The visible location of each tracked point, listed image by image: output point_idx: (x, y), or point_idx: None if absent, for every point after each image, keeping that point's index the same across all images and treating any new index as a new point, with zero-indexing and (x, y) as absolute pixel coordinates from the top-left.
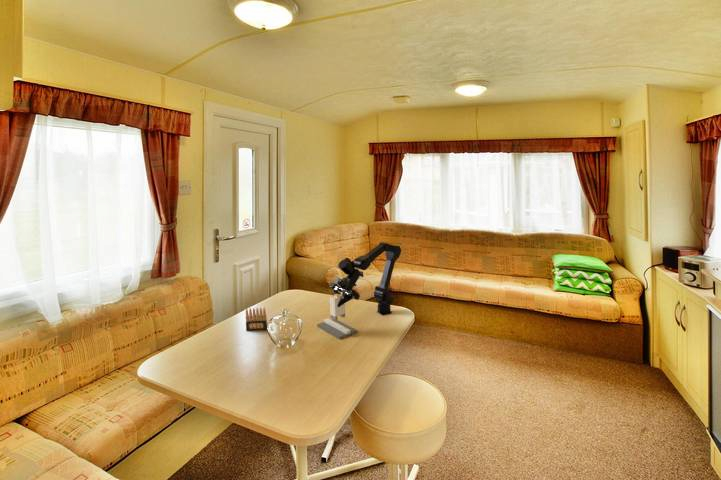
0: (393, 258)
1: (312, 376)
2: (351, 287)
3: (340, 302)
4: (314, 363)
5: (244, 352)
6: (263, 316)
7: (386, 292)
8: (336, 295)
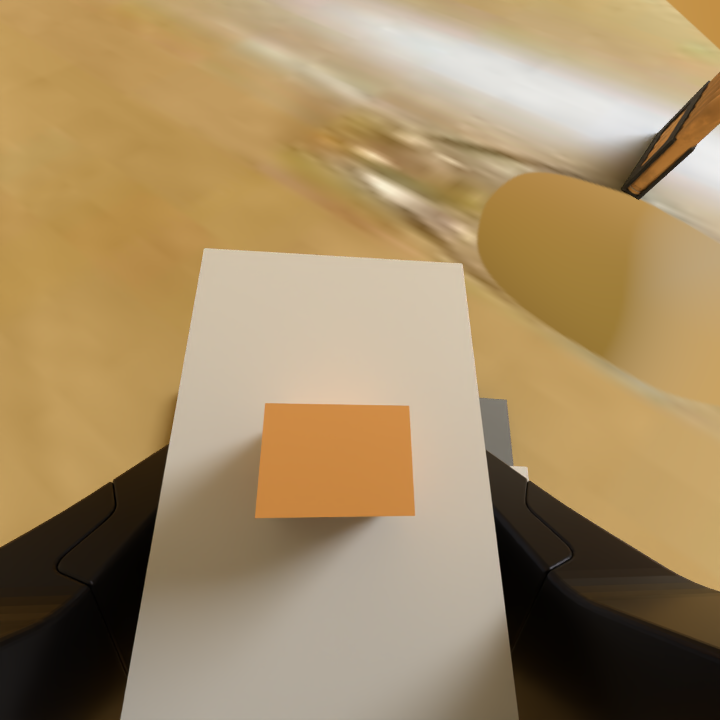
0: None
1: (35, 74)
2: None
3: (165, 452)
4: (112, 133)
5: (449, 45)
6: (709, 104)
7: None
8: (312, 413)
